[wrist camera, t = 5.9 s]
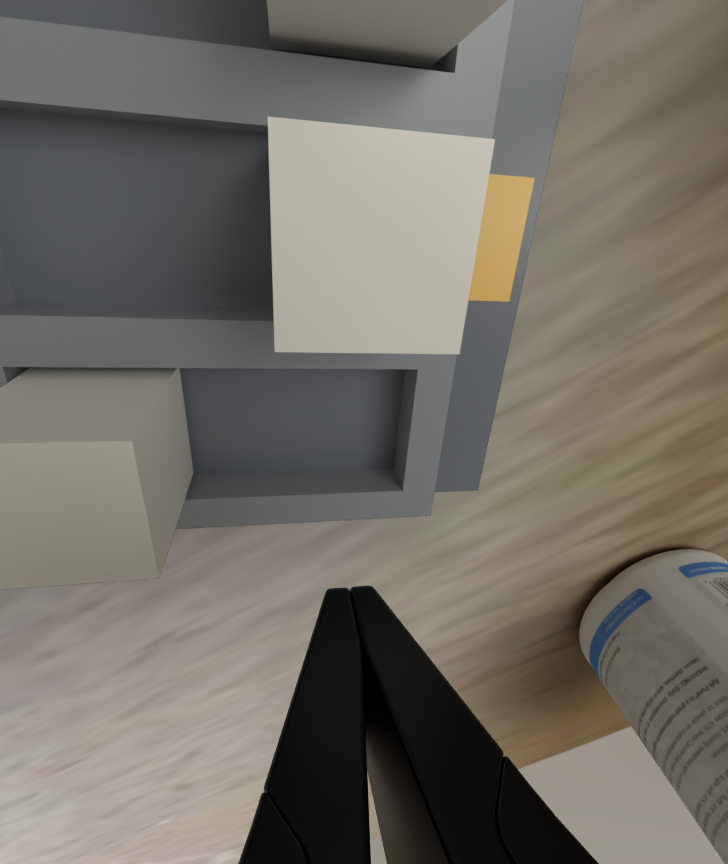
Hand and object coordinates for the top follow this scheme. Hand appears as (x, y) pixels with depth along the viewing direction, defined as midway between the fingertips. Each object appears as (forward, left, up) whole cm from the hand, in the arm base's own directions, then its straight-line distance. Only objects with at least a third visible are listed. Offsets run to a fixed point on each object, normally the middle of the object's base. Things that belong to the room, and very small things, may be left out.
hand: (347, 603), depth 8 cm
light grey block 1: (+6, 0, -8) cm, 10 cm away
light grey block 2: (-1, -6, -8) cm, 10 cm away
